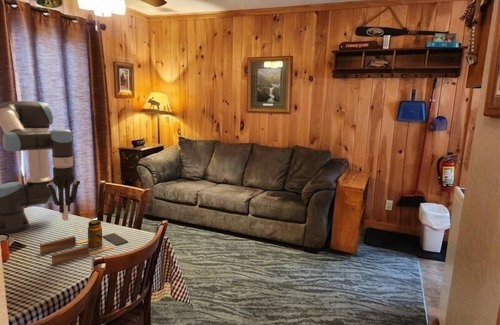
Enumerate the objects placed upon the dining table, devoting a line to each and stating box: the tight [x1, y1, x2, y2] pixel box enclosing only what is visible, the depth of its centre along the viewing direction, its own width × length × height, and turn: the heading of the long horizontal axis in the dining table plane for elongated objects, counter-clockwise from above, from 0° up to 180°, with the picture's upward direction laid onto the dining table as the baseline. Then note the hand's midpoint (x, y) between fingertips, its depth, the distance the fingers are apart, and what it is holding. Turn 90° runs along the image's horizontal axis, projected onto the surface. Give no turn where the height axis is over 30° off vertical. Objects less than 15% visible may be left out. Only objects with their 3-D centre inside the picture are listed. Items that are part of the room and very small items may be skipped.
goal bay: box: [76, 238, 114, 255], centre depth 155 cm, size 17×10×1 cm, turn 49°
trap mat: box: [102, 232, 129, 246], centre depth 162 cm, size 14×6×1 cm, turn 49°
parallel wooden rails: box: [39, 235, 90, 266], centre depth 145 cm, size 16×14×4 cm
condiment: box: [81, 219, 106, 251], centre depth 153 cm, size 7×8×12 cm
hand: (65, 219), depth 144 cm, fingers closed
